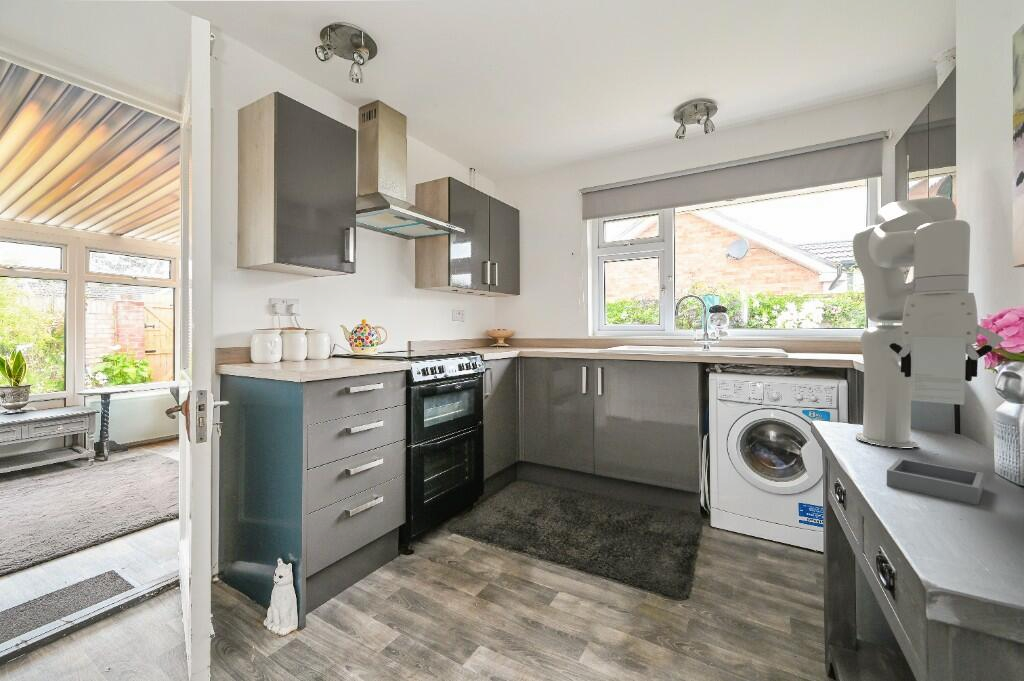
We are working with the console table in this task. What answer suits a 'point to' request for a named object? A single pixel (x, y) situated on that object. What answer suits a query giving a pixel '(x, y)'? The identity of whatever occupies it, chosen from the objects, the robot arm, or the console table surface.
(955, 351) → the supplement box
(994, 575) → the console table surface
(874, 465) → the console table surface
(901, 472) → the holder tray
